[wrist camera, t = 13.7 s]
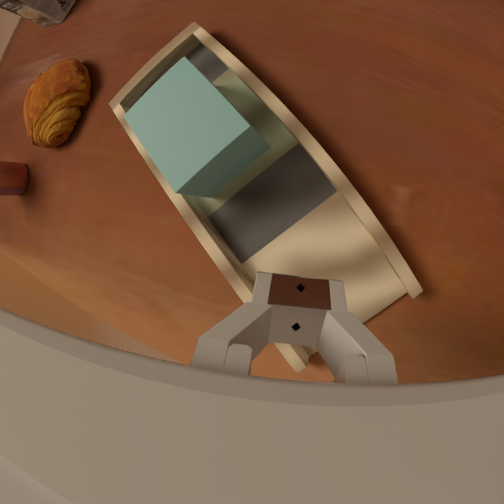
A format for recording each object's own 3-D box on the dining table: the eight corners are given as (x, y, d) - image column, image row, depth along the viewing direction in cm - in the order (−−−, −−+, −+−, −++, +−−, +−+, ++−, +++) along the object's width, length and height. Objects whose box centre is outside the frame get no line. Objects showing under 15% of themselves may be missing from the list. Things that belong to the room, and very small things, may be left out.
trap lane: (414, 283, 26) (423, 290, 23) (300, 359, 30) (296, 373, 28) (204, 33, 29) (194, 21, 26) (123, 109, 33) (108, 103, 30)
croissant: (57, 163, 41) (21, 165, 33) (39, 97, 39) (7, 93, 31) (111, 110, 36) (73, 103, 28) (88, 44, 34) (55, 32, 26)
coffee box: (44, 27, 38) (-5, 7, 23) (57, 5, 37) (11, -18, 21) (62, 23, 36) (8, -2, 21) (77, -1, 35) (27, -29, 19)
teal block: (271, 147, 28) (250, 126, 21) (211, 197, 30) (175, 193, 23) (215, 85, 29) (184, 56, 22) (163, 133, 31) (123, 116, 24)
